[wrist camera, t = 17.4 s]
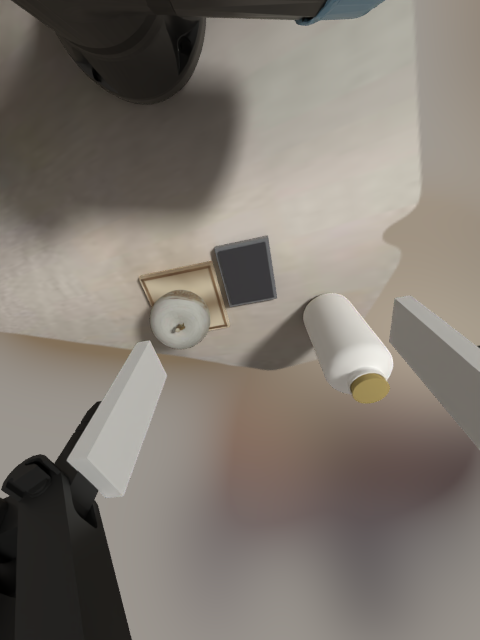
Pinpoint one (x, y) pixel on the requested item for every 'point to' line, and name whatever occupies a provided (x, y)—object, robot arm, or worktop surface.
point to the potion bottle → (348, 348)
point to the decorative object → (180, 319)
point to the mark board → (189, 288)
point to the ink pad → (247, 271)
